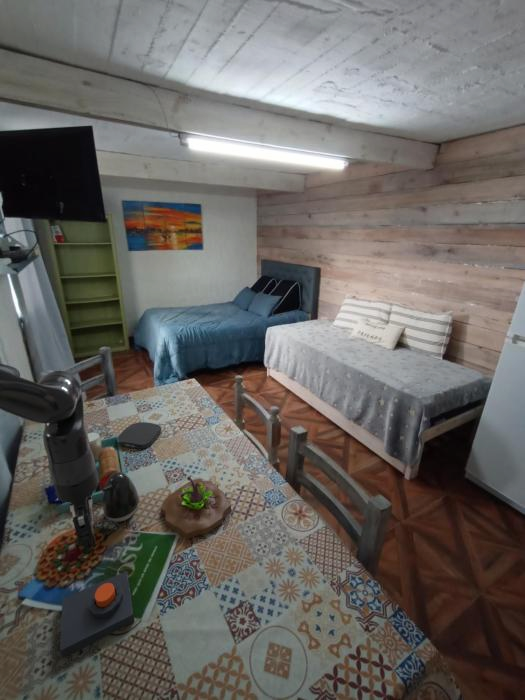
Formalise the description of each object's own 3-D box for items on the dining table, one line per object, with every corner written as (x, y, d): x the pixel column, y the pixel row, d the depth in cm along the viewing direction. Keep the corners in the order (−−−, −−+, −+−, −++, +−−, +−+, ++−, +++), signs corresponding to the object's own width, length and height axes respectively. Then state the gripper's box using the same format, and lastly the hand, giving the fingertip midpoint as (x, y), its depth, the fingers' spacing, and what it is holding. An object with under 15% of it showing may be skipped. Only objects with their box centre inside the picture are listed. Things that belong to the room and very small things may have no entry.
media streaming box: (164, 429, 140) (163, 424, 139) (147, 450, 127) (146, 444, 126) (134, 425, 142) (133, 420, 141) (114, 446, 129) (113, 439, 128)
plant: (188, 550, 88) (186, 520, 84) (152, 510, 100) (148, 482, 96) (241, 508, 101) (240, 480, 98) (203, 477, 114) (202, 451, 110)
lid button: (96, 611, 70) (95, 605, 69) (95, 593, 73) (94, 587, 72) (116, 601, 71) (114, 595, 71) (114, 585, 75) (113, 579, 74)
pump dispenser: (96, 521, 95) (88, 482, 90) (122, 496, 105) (115, 459, 99) (123, 532, 92) (116, 492, 87) (147, 505, 101) (142, 467, 96)
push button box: (62, 658, 65) (58, 645, 63) (64, 606, 74) (60, 593, 72) (134, 622, 71) (132, 609, 70) (128, 577, 80) (126, 565, 79)
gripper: (53, 454, 66) (69, 513, 72) (49, 503, 54) (68, 567, 60) (93, 444, 70) (105, 500, 75) (97, 487, 58) (111, 550, 64)
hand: (89, 530), depth 68 cm, fingers open, 8 cm apart
